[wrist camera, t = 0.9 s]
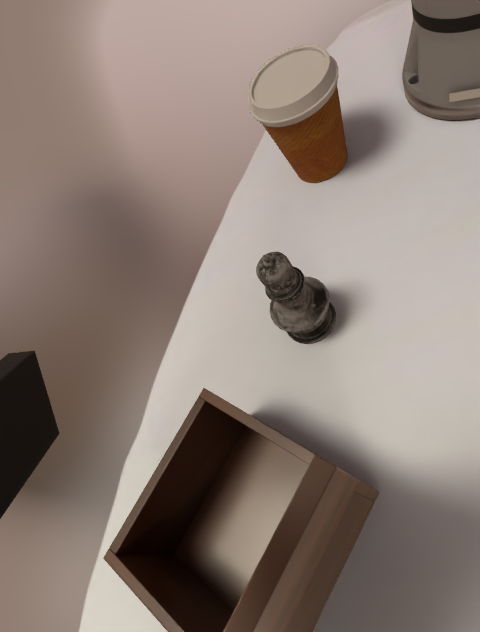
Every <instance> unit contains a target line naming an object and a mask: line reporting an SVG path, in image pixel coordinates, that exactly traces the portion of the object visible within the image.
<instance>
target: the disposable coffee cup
mask: <svg viewBox="0 0 480 632" xmlns="http://www.w3.org/2000/svg"><path fill="white" fill-rule="evenodd" d="M337 79H338V66H337V62H336V61H335V60H334V58H333V57H331V56H330V55H329V54H328V52H327V51H326V50H325V49H324V48H322V47H320V46H317V45H301V46H297V47H293V48H290V49H288V50H286V51H284V52H282V53H280V54H279V55H277V56H275V57H274V58H272V59H270V60H269V61H268V62H267V63H266V64H264V65H263V66H262V67H261V68H260V69H259V70H258V72H257V73H256V75H255V76H254V77H253V79H252V81H251V83H250V86H249V89H248V96H249V109H250V113H251V114H252V116H253V117H254V118H255V119H256V120H257V121H259V122H260V123H262V124H263V126H264V127H265V128H266V130H267V131H268V133H269V134H270V135H271V137H272V139H274V142H275V143H276V145H277V146H278V147H279V149H280V150H281V152H282V153H283V154H284V156H285V157H286V159H287V160H288V161H289V163H290V164H291V166H292V167H293V169H294V170H295V171H296V173H297V174H298V176H299V177H300V178H301V179H302V180H303V181H306V182H310V183H313V182H321V181H324V180H327V179H329V178H331V177H333V176H334V175H336V174H337V173H338V172H339V171H340V170H341V169H342V168H343V166H344V165H345V163H346V160H347V149H346V143H345V135H344V129H343V122H342V116H341V109H340V101H339V95H338V89H337Z"/></svg>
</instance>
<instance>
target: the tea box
mask: <svg viewBox="0 0 480 632" xmlns="http://www.w3.org/2000/svg"><path fill="white" fill-rule="evenodd" d="M315 455H316V454H314V453H313V452H311V451H309V450H308V449H306V448H304V447H303V446H301V445H299V444H298V443H296V442H294V441H293V440H291V439H289V438H287V437H286V436H284V435H282V434H281V433H279V432H277V431H276V430H274V429H272V428H271V427H269V426H267V425H266V424H264V423H262V422H261V421H259V420H257V419H255V418H254V417H252V416H250V415H249V414H247V413H245V412H244V411H242V410H240V409H239V408H237V407H235V406H234V405H232V404H230V403H229V402H227V401H225V400H223V399H222V398H220V397H218V396H217V395H215V394H213V393H212V392H210V391H208V390H207V389H205V388H203V390H202V392H201V394H200V395H199V397H198V399H197V401H196V402H195V404H194V406H193V407H192V409H191V411H190V412H189V414H188V416H187V418H186V419H185V421H184V423H183V424H182V426H181V428H180V429H179V431H178V433H177V434H176V436H175V438H174V440H173V441H172V443H171V445H170V446H169V448H168V450H167V451H166V453H165V455H164V457H163V458H162V460H161V462H160V463H159V465H158V467H157V468H156V470H155V472H154V473H153V475H152V477H151V479H150V480H149V482H148V484H147V485H146V487H145V489H144V490H143V492H142V494H141V495H140V497H139V499H138V501H137V502H136V504H135V506H134V507H133V509H132V511H131V512H130V514H129V516H128V517H127V519H126V521H125V523H124V524H123V526H122V528H121V529H120V531H119V533H118V534H117V536H116V538H115V539H114V541H113V543H112V545H111V546H110V549H108V551H107V553H106V555H105V556H104V559H105V561H106V562H107V563H108V564H109V565H110V566H111V567H112V569H113V570H114V571H115V572H116V573H117V574H118V575H119V577H120V578H121V579H122V580H123V581H124V582H125V583H126V584H127V586H128V587H129V588H130V589H131V590H132V591H133V592H134V594H135V595H136V596H137V597H138V598H139V599H140V600H141V602H142V603H143V604H144V605H145V606H146V607H147V608H148V609H149V611H150V612H151V613H152V614H153V615H154V616H155V617H156V619H157V620H158V621H159V622H160V623H161V624H162V625H163V627H164V628H165V629H166V630H167V631H168V632H223V630H224V628H225V626H226V625H227V623H228V621H229V619H230V617H231V615H232V613H233V611H234V609H235V607H236V605H237V603H238V601H239V600H240V598H241V596H242V594H243V592H244V590H245V588H246V586H247V584H248V582H249V580H250V578H251V577H252V575H253V573H254V571H255V569H256V567H257V565H258V563H259V561H260V559H261V557H262V555H263V553H264V552H265V550H266V548H267V546H268V544H269V542H270V540H271V538H272V536H273V534H274V532H275V530H276V528H277V527H278V525H279V523H280V521H281V519H282V517H283V515H284V513H285V511H286V509H287V507H288V505H289V504H290V502H291V500H292V498H293V496H294V494H295V492H296V490H297V488H298V486H299V484H300V482H301V480H302V479H303V477H304V475H305V473H306V471H307V469H308V467H309V465H310V463H311V461H312V459H313V457H314V456H315ZM317 456H318V455H317ZM324 460H325V459H324ZM329 463H330V462H329ZM334 466H335V465H334ZM378 494H379V492H378V491H377V490H375V489H373V488H372V487H370V486H368V485H367V484H365V483H363V482H362V481H360V480H359V482H358V484H357V486H356V488H355V491H354V493H353V495H352V497H351V499H350V501H349V503H348V505H347V507H346V509H345V511H344V513H343V515H342V517H341V519H340V521H339V523H338V525H337V527H336V529H335V531H334V533H333V535H332V537H331V539H330V541H329V543H328V545H327V547H326V549H325V551H324V553H323V555H322V557H321V559H320V561H319V563H318V565H317V567H316V569H315V571H314V573H313V576H312V578H311V580H310V582H309V584H308V586H307V588H306V590H305V592H304V594H303V596H302V598H301V600H300V602H299V604H298V606H297V608H296V610H295V612H294V614H293V616H292V618H291V620H290V622H289V624H288V626H287V628H286V630H285V632H312V631H313V629H314V627H315V625H316V623H317V621H318V618H319V616H320V614H321V612H322V610H323V608H324V606H325V604H326V602H327V600H328V598H329V596H330V594H331V592H332V589H333V587H334V585H335V583H336V581H337V579H338V577H339V575H340V573H341V571H342V569H343V567H344V565H345V563H346V560H347V558H348V556H349V554H350V552H351V550H352V548H353V546H354V544H355V542H356V540H357V538H358V536H359V533H360V531H361V529H362V527H363V525H364V523H365V521H366V519H367V517H368V515H369V513H370V511H371V509H372V507H373V504H374V502H375V500H376V498H377V496H378Z"/></svg>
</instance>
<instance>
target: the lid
mask: <svg viewBox="0 0 480 632" xmlns="http://www.w3.org/2000/svg"><path fill="white" fill-rule="evenodd" d="M358 482H359V480H358V479H356V478H355V477H353V476H351V475H350V474H348V473H346V472H345V471H343V470H341V469H340V468H338V467H336V466H334V465H333V464H331V463H329V462H328V461H326V460H324V459H323V458H321V457H319V456H317V455H315V456H314V457H313V459H312V461H311V463H310V465H309V467H308V469H307V471H306V473H305V475H304V477H303V479H302V480H301V482H300V484H299V486H298V488H297V490H296V492H295V494H294V496H293V498H292V500H291V502H290V504H289V505H288V507H287V509H286V511H285V513H284V515H283V517H282V519H281V521H280V523H279V525H278V527H277V528H276V530H275V532H274V534H273V536H272V538H271V540H270V542H269V544H268V546H267V548H266V550H265V552H264V553H263V555H262V557H261V559H260V561H259V563H258V565H257V567H256V569H255V571H254V573H253V575H252V577H251V578H250V580H249V582H248V584H247V586H246V588H245V590H244V592H243V594H242V596H241V598H240V600H239V601H238V603H237V605H236V607H235V609H234V611H233V613H232V615H231V617H230V619H229V621H228V623H227V625H226V626H225V628H224V630H223V632H285V630H286V628H287V626H288V624H289V622H290V620H291V618H292V616H293V614H294V612H295V610H296V608H297V606H298V604H299V602H300V600H301V598H302V596H303V594H304V592H305V590H306V588H307V586H308V584H309V582H310V580H311V578H312V576H313V573H314V571H315V569H316V567H317V565H318V563H319V561H320V559H321V557H322V555H323V553H324V551H325V549H326V547H327V545H328V543H329V541H330V539H331V537H332V535H333V533H334V531H335V529H336V527H337V525H338V523H339V521H340V519H341V517H342V515H343V513H344V511H345V509H346V507H347V505H348V503H349V501H350V499H351V497H352V495H353V493H354V491H355V488H356V486H357V484H358Z"/></svg>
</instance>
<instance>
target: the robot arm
mask: <svg viewBox="0 0 480 632" xmlns="http://www.w3.org/2000/svg"><path fill="white" fill-rule="evenodd" d="M411 2H412V11H413V24H412V29H411V33H410V38H409V43H408V48H407V52H406V57H405V62H404V67H403V74H402V75H403V84H404V91H405V95H406V98H407V100H408V102H409V103H410V104H411V106H412V107H414V108H415V109H416V110H417V111H419V112H421V113H423V114H425V115H427V116H430V117H434V118H438V119H446V120H465V119H473V118H478V117H480V0H411ZM58 435H59V431H58V428H57V424H56V421H55V417H54V414H53V411H52V407H51V404H50V401H49V397H48V394H47V391H46V387H45V384H44V381H43V377H42V374H41V371H40V367H39V364H38V360H37V357H36V354H35V351H29V352H19V353H10V354H7V355H6V356H5V357H4V358H2V359H1V360H0V518H1V517H2V516H3V514H4V513H5V511H6V510H7V508H8V507H9V506H10V504H11V502H12V501H13V499H14V498H15V497H16V495H17V494H18V492H19V491H20V490H21V488H22V487H23V485H24V484H25V482H26V481H27V479H28V478H29V477H30V475H31V474H32V472H33V471H34V469H35V468H36V466H37V465H38V463H39V462H40V461H41V459H42V458H43V456H44V455H45V453H46V452H47V450H48V449H49V448H50V446H51V445H52V443H53V442H54V440H55V439H56V438H57V436H58Z"/></svg>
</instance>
